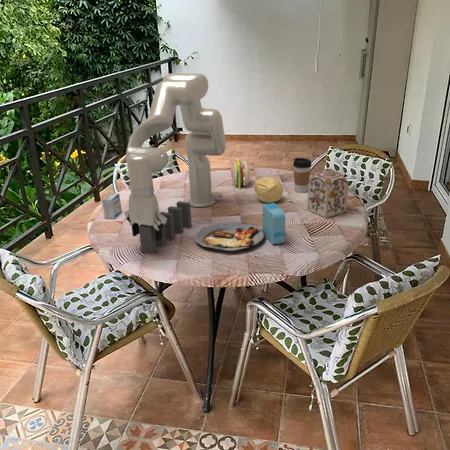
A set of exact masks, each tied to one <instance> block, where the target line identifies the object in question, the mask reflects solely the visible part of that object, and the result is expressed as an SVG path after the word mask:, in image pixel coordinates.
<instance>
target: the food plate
mask: <svg viewBox="0 0 450 450" xmlns="http://www.w3.org/2000/svg"><path fill="white" fill-rule="evenodd" d="M230 231H232V232H230ZM265 238H266V236H265V234H264V232H263V228H260V227H258V226H256V225H253V224H251V223H245V222H244V223H243V222H235V221H234V222H233V221H228V222H227V221H223V222H218V223H213V224H208V226H205V227H203V228H202V229H200V230H199V231H198V232H197V233H196V234H195V241H196V243H198V244H199V245H200V246H202V247H205V248H210V249H216V250H222V251H230V252H232V251H233V252H236V251H241V250H243V251H244V250H246V249H251V248H252V247H256V246H257V245H258V244H260V243H261V242H262V241H263V240H264V239H265Z"/></svg>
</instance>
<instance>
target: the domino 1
mask: <svg viewBox="0 0 450 450" xmlns="http://www.w3.org/2000/svg"><path fill="white" fill-rule="evenodd" d="M138 235H139V240H140V247H141V248H140V249H141V250H140V251H141V252H142V253H147V254H150V255H154V254H156V253H157V246H156V242H155V232H154V226H148V225H143V224H139V234H138Z"/></svg>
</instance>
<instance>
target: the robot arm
mask: <svg viewBox="0 0 450 450" xmlns="http://www.w3.org/2000/svg"><path fill="white" fill-rule="evenodd" d="M208 91H209V81H208V78H207V76H206V75H204V74H203V73H179V72H177V73H175V72H174V73H168V74H165V75H164V76H163V78H162V81H160V82H158V83H157V85H156V86H155V90H154V94H153V98H152V101H151V106H150V110H149V112H148V113H149V114H148V117H147V118H146V119H145V120H144V121H142V123H140V124H139V125H138V126H137V127H136V129H134V130H133V132H132V133H131V135H130V137H129V140H128V144H127V147H126V152H125V162H126V164H127V165H126V166H127V171H128V179H129V186H128V190H130V194H129V196H128V209H127V210H126V211H124V212H123V214H124V216H125V218H126V220H127V222H128V223H129V226H131V229H132V230H131V231H132V236H133V237H136V236H137V235H140V234H139V225H141V224H143V225H148V226H152V225H153V226H154V228H155V229H156V230H155V239H156V241H159V240H160V239H162V236H163V235H162V228H163V227H164V226H165V225H166V222H167V218H166V217H165V216H163V215H162V214H160V207H159V201H158V198H157V196H156V193H155V190H154V181H153V173H156V172H159V171H162V170H164V169H165V168H166V167H167V165H168V163H169V155H168V153H167V152H166V151H165V150H164V149H163V148H160V147H159V148H157V147H148V146H147V147H145V146H144V147H143V145H144V143H145V142H146V141H147V140H148V139H150V138H151V137H153V136H155V135H157V134H159V133H162V132H164V131H166V130H169V129H170V128H171V127H172V126H173V122H174V119H175V118H174V117H175V114H176V109H177V106H179V107H180V113H181V118H182V121H183V126H184V128H185V130H186V131H187V132H189V133H187V134H186V136H185V138H184V148H185V152H186V158H187V165H188V179H189V181H188V183H189V195H190V197H189V198H188V199H187V201H186V202H188V203H190V207H193V208H207V207H210V206H213V205H215V203H216V199H217V198H222V197H223V192H218V191H215V192H213V191H212V173H211V163H210V160H209V158H208V157H207V156H213V157H214V156H215V157H216V156H217V157H218V156H219V157H220V156H222V155H223V154H225V152H226V149H227V148H226V146H227V143H226V135H225V130H224V129H225V128H224V123H223V118H222V115H221V112H220V111H219V110H217V109H215V108H204V107H203V106H202V101H201V99H203V98H205V96H207V93H208ZM160 220H161V222H160ZM156 223H157V224H158V226H157V224H156Z"/></svg>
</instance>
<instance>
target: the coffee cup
mask: <svg viewBox="0 0 450 450" xmlns="http://www.w3.org/2000/svg"><path fill="white" fill-rule="evenodd" d="M292 167H293V177H294V178H293V179H294V191H295V193H299V194H302V193H308V186H309V180H310V178H311V168H312V161H311V159H308V158H304V157H296V158H294V160H293V164H292Z"/></svg>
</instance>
